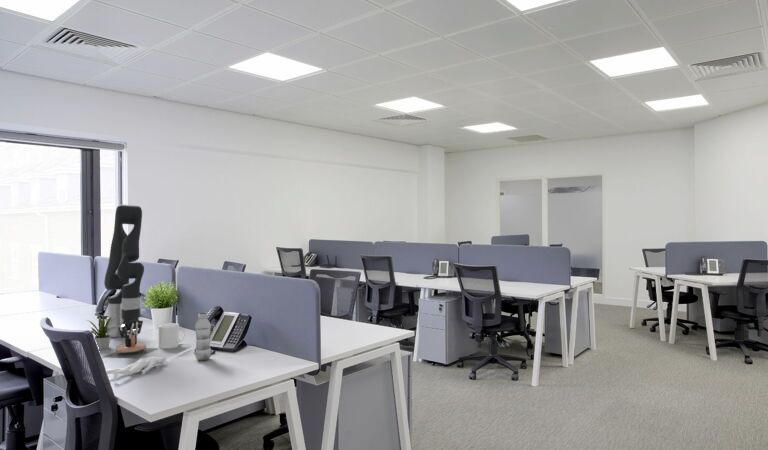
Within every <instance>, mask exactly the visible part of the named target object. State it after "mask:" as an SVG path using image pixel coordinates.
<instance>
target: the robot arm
mask: <svg viewBox="0 0 768 450" xmlns="http://www.w3.org/2000/svg"><path fill="white" fill-rule="evenodd" d="M142 220H143V210H142V207H141V206H139V205H130V204H119V205H118V206H116V209H115V216H114V227H113V233H112V235H113V236H112V239H111V244H110V250H109V257H108V263H107V268H106V272H105V277H104V280H103V281H104V283H103V284H104V288H105V289H106V290H108V291H115V290H119V292H117V293H116V294H114V295H112V296H109V297H108V298H107V304H108V306H107V311H108V312H107V314H108V315H107V317H106V320H105V323H106V322H107V321H108V319H109V318H110V317H112V316H113V317H112V318H111V320H112V321H111V323H112V322H113V323H112V324H111V323H110V322H109V323H110V324H109V325H108V327H109V326H110V327H109V328H111V329H109V328H108V327H107V328H108V329H109V330H110V331H107V332H108V334H107V333H106V335H111V338H119V337H121V339H124V344H125V346H126V347H131V334H135V345H136V344H137V343H138V342H137V341H138V338H137V337H138V336H139V335H140V334H141V331H142V327H143V323H144V321H143V320H140V317H141V297H140V296H141V295H140V294H141V284H142V283H141V282H142V278H143V276H144V273H145V266H144V264H143V263H141V262H136V261H138V260H139V259H140V236H141V232H142V231H141V230H142ZM123 225H133V227H132V229H131V231H130V232H129V233H128V234H127V232H126V231H125V229H124V227H123ZM131 279H134V281H133V282H130V280H131ZM116 317H118V318H116ZM114 318H115V319H114ZM113 319H114V320H113ZM114 321H115V322H114ZM116 326H117V327H116ZM112 327H113V328H114V327H115V328H114V329H113V328H112ZM116 328H117V329H116Z"/></svg>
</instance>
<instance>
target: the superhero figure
mask: <svg viewBox="0 0 768 450" xmlns="http://www.w3.org/2000/svg"><path fill="white" fill-rule="evenodd" d="M166 360H167V359H166V357H165V356H161V357H160V356H153V355H152V356H148V357H146V356H145V357H142V358H141V357H139V358H138V360H136V361H135V362H134V363H131V364H129V365H127V366H125V367H124V368H117V367H115V368H112V369H109V370H108V369H107V370H106V371H107V375H110V374H112V375H113V381H114V382H117V381H118V375H128V376H130V375H133V374H136V373H139V372H140V371H141V374H140V375H145V374H146V372H147V371H149V370H150V369H151V368H153V367H156V366H157V365H163V364H165V362H166Z"/></svg>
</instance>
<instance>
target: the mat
mask: <svg viewBox="0 0 768 450" xmlns="http://www.w3.org/2000/svg"><path fill="white" fill-rule="evenodd" d="M157 350H159V347H158V348H155V347H153V348H152V347H150V348H149V347H146V348H145V349H144V350H141V351H137V352H130V353H120V352H116V351H115V352H112V353H111V352H110V353H109V354H106V355H104V356H103V358H110V359H111V358H115V359H117V358H118V359H132V360H133V359H140V358H141V357H142V356H146V355H147V354H150V353H152V352H154V351H157Z"/></svg>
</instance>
